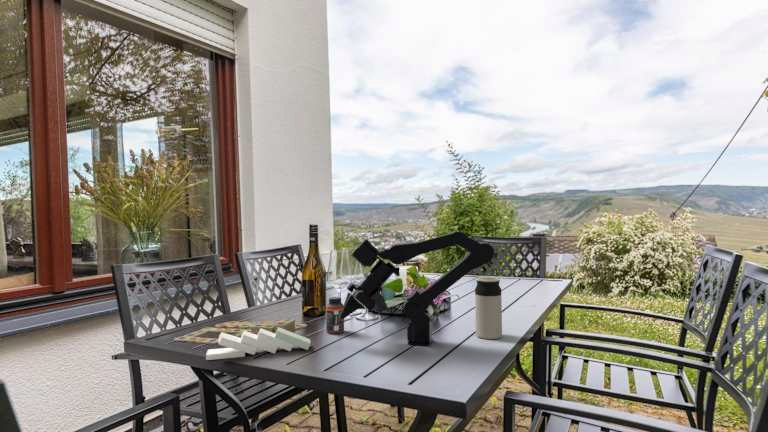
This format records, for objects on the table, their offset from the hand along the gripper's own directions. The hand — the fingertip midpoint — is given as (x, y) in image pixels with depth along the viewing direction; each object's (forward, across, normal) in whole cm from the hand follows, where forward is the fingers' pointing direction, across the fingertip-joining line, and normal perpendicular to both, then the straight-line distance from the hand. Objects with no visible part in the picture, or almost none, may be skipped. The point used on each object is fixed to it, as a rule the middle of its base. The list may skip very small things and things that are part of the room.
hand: (341, 318), depth 131 cm
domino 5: (+12, 0, +2) cm, 12 cm away
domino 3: (+18, 0, +9) cm, 20 cm away
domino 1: (+24, 0, +14) cm, 28 cm away
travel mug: (-26, -2, -39) cm, 47 cm away
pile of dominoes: (+27, +24, +15) cm, 39 cm away
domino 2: (+22, 0, +13) cm, 25 cm away
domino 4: (+15, +1, +6) cm, 16 cm away
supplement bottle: (+6, +17, -6) cm, 19 cm away
